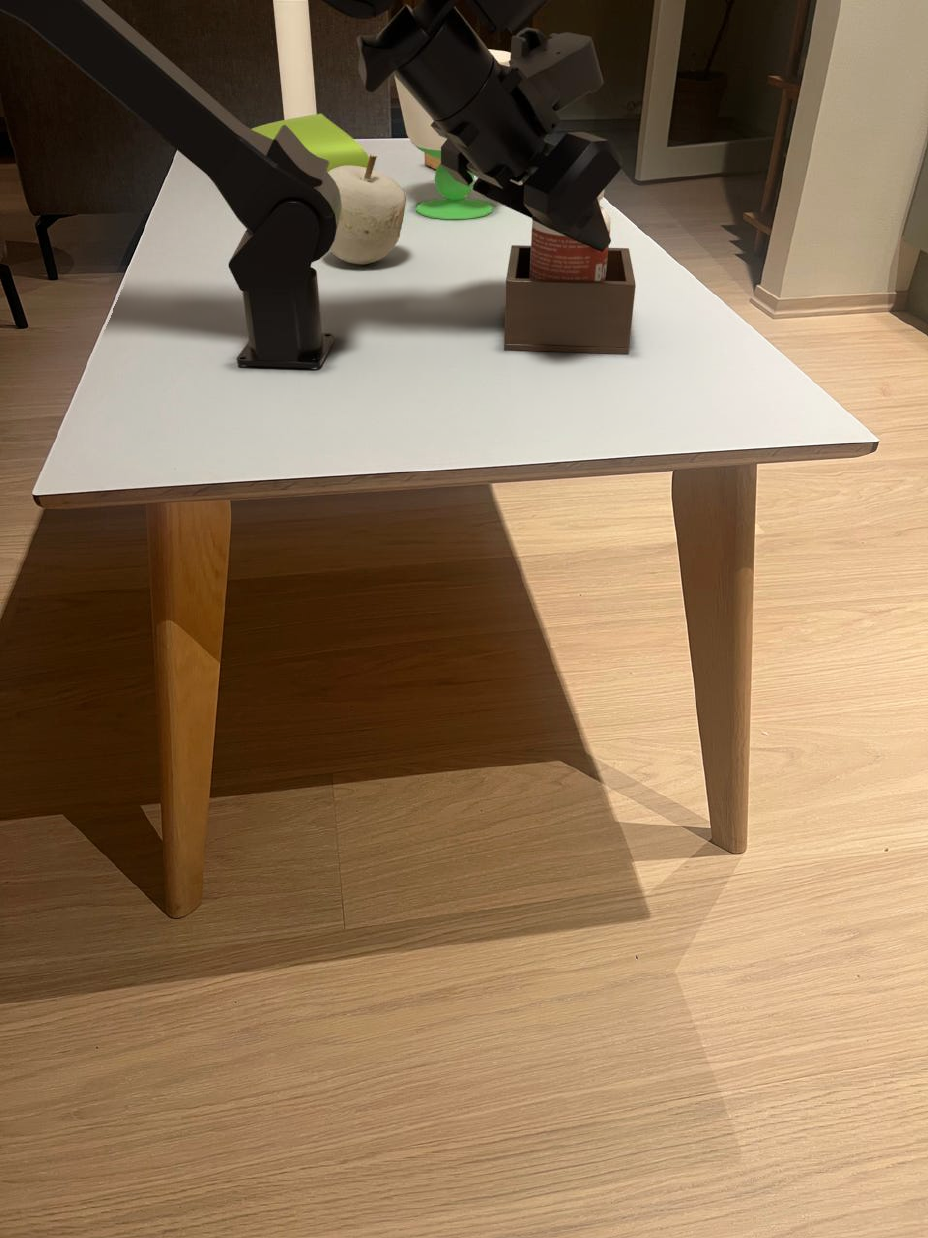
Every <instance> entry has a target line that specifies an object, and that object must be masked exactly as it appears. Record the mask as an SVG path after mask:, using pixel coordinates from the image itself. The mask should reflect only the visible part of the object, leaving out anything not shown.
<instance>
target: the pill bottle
mask: <svg viewBox="0 0 928 1238" xmlns="http://www.w3.org/2000/svg"><path fill="white" fill-rule="evenodd" d="M605 189H606V188H605ZM605 189H604V190H603V191H602V192H601V194H600V195H599V196H598V197H597V198H598V202H599V205H600V208H601V211H602V214H603V217H604V220H605V223H606V226H607V229H608V232H609V235H610V236H611V225H612V224H611V222H612V221H611V216H610V214H609V211H608V210H607V209H606V208H605V207H604V206H601V203H600V201H602V200H603V199H604V195H605ZM533 216H534V215H533ZM531 220H532V219H531ZM530 236H531V237H530V239H531V240H530V246H531V256H530V275H529V279H554V280H590V281H605V279H606V269H607V259H608V248H610V247H609V246H610V244H609V245H608V247H607V248H606V249H605V250H604V251H603V252H600V251H598V250H596V249H594V248H592V247H589V246H587V245H585V244H583V243H581V242H578V241H576V240H574V239H572V238H569V237H567V236H565V235H563V234H561V233H558V232H556V231H554V230H551V229H549V228H547V227H545V226H543V225H541V224H539V223H537V222H535V221H533V220H532V223H531V235H530Z"/></svg>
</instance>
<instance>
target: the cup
mask: <svg viewBox="0 0 928 1238" xmlns="http://www.w3.org/2000/svg"><path fill="white" fill-rule="evenodd" d="M488 50H489V51H490V52H491V54H492V55H493V56H494V57H495V59H496V60H497V61H498V63H499V64H501V65H505V66H508V67H509V66H510V64H509V61H510V57H511V51H505V50H497V49H489V48H488ZM393 76H394V81H395V85H396V90H397V96H398V100H399V104H400V108H401V113H402V118H403V119H402V120H403V123H404V128H405V133H406V136H407V138H408V139H409V141H410V143H411V144H412V145H413V146H414V147H416V148H417V149H418V150H419V151H420V152H423V153H424V152H425V153H427V154H429V155H431V156H433V157H435V158H439V159H441V146H442V145H443V144H444V142H445V141H446V140H447V139H446V138H444V137H442V136H439V135H438V133H437V132H436V131H435V130H434V129H433V128H432V127H431V126H430V125H431V124H432V123H433V121H434V120H433V119H432V118H431V116H430V115H429V114H428V113H427V112H426V111H425V110H424V108H423V107H422V106H421V105H420V104H419V103H418V102H417V100H416V99H415V98H414V97H413V96H412V95H411V94H410V93H409V91H408V90H407V89H406V88H405V87H404V86H403V85H402V83H401V82H400V81H399V80H398V79H397V78H396V77H395V75H394V74H393ZM467 172H468V171H467ZM468 173H469V174H470V175H471V176H472V179H473V182H472V183H471V184H470V186H469V187H468V186H466V185H464V184H462V183H460V182H458V181H456V180H455V179H454V178H453V177H452V176H451V175H450V174H449V173H448V172H447V171H446V169H445V168H444V167H443V166H442V165H441V163H440V164H439V166H438V168H437V169H435V173H434V174H435V176H434V184H435V188H436V190H437V191H438V193H439V194H440V195H441V196H443V197H444V198H438V199H431V200H426V201H423V202H421V203H419V204H417V205H416V208H415V211H416V213H418V214H419V215H421V216H423V217H427V218H431V219H438V220H439V219H440V220H456V221H457V220H458V221H459V220H471V219H477V218H478V219H479V218H482V217H486V216H487V215H489V214H491V213H492V212H493V208H494V206H493V205H491V204H489V203H488V202H485V201H482V200H478V199H470V198H465V197H467V196H468V195H469V194H470V192H471V191H472V190H473V185H474V183H475V182H474V181H475V175H474V174H472V173H470V172H468Z"/></svg>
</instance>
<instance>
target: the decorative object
mask: <svg viewBox="0 0 928 1238" xmlns="http://www.w3.org/2000/svg"><path fill="white" fill-rule="evenodd" d="M377 157H378V156H377V155H376V154H373V153H370V154H369V162H368V165H367V168H365V167H360V166H352V165H349V166H340V167H337V168H334V169H332V170H330V171H329V172H327V173H328V174H329V175H330V176H331V177H332V178H333V180H334V181H335V182H336V184H337V186H338V188H339V192H340V197H341V205H342V209H341V215H340V220H339V224H338V228H337V232H336V236H335V240H334V242H333V244H332V246H331V248H330V249H329V252H331V253H332V254H333V255H334V256H335V257H337V258H338V259H340V260H342V261H344V262H345V263H348V264H353V265H360V266H361V265H363V266H364V265H368V264H369V265H370V264H374V263H376V262H377V261H380V260H382V259H383V258H385V257H386V256H388V254H389V253H390V252H391V251H392V250H393V248H394V247H395V246H396V244H397V243H398V242H399V239H400V237H401V231H402V227H403V223H404V217H405V212H406V211H405V210H406V203H407V194H406V191H405V190H404V189H403V187H402V186H401V185H400V184H399V183H398V182H397V181H396V180H395V179H394V178H392V177H390V176H389V175H388V174H385V173H383V172H380V171H378V170H376V169H374V168H375V165H376V161H377Z"/></svg>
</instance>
